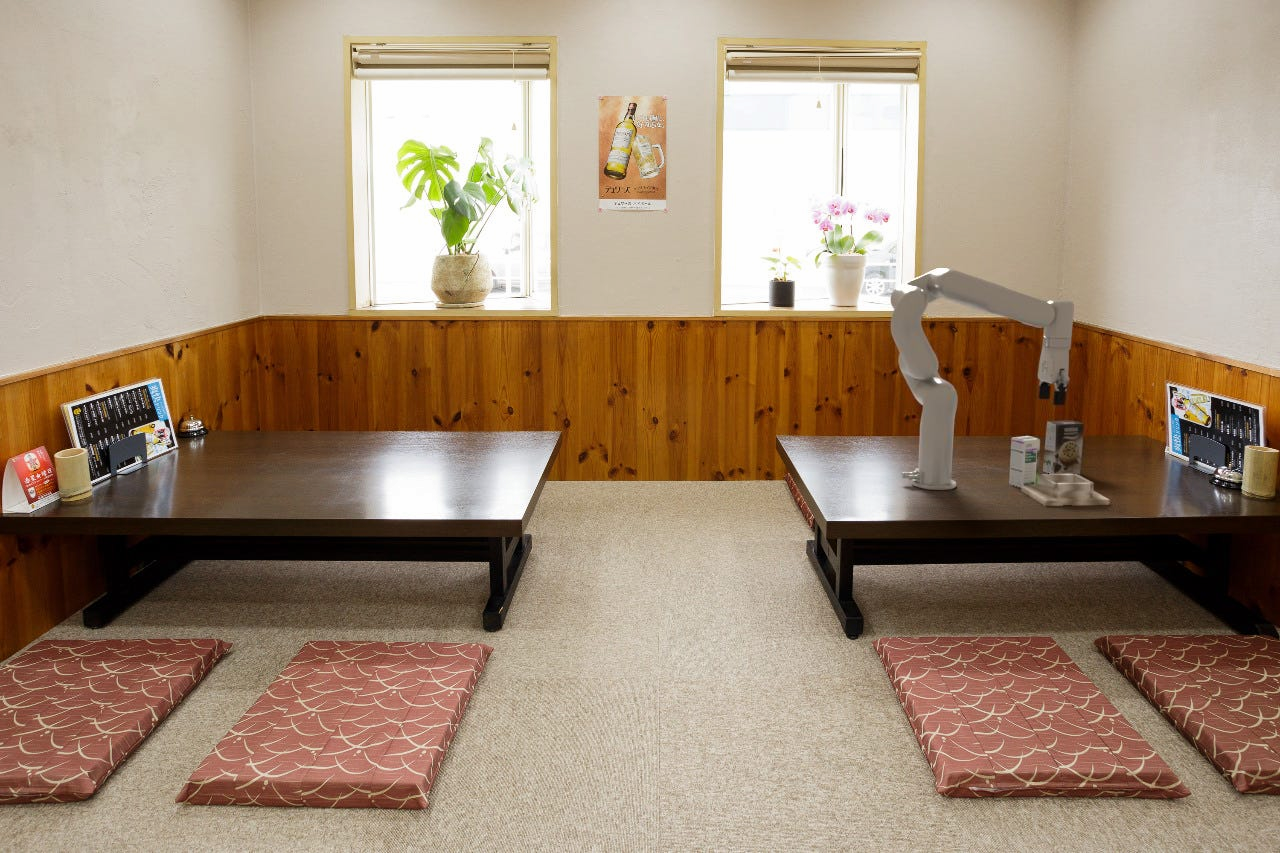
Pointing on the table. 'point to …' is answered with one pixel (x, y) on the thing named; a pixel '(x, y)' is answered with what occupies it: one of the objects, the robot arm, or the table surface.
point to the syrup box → (1024, 461)
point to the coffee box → (1063, 447)
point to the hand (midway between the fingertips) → (1051, 401)
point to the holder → (1064, 491)
